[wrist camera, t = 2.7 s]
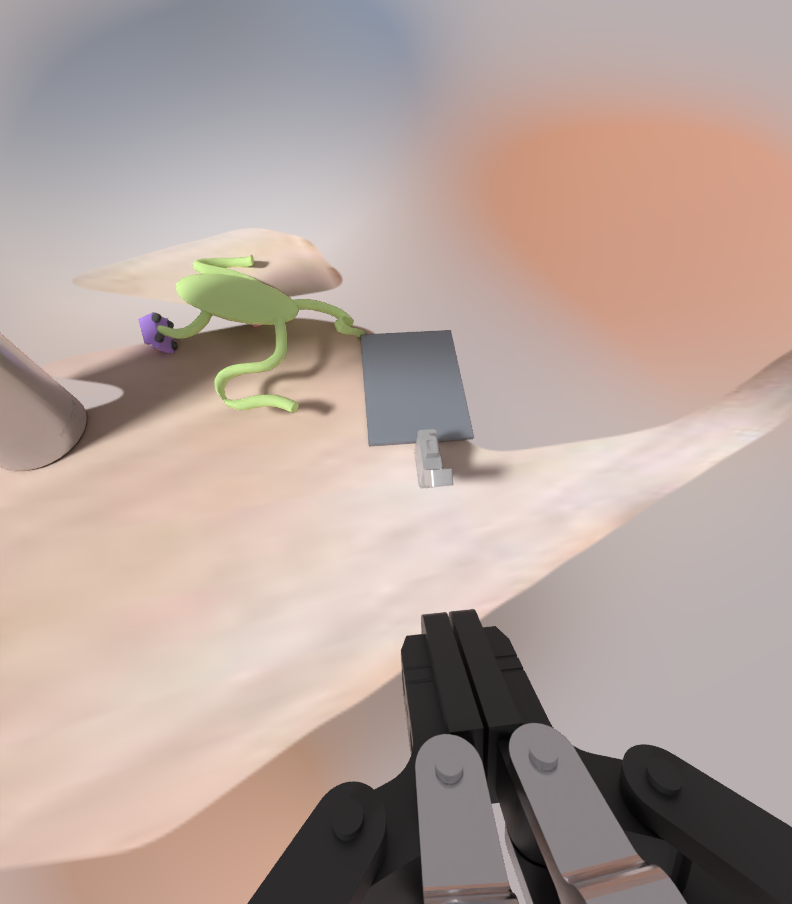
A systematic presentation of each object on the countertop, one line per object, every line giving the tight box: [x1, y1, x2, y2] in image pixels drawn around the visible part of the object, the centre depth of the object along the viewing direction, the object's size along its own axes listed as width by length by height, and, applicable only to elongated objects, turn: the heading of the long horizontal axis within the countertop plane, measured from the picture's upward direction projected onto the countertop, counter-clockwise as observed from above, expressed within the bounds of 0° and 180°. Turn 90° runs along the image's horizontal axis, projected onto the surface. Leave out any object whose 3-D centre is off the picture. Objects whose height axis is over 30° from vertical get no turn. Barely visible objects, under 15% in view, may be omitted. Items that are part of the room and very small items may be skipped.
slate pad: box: [360, 330, 474, 446], centre depth 45 cm, size 11×15×1 cm
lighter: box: [414, 429, 453, 488], centre depth 36 cm, size 7×2×8 cm, turn 6°
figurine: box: [139, 255, 366, 413], centre depth 46 cm, size 18×27×6 cm
